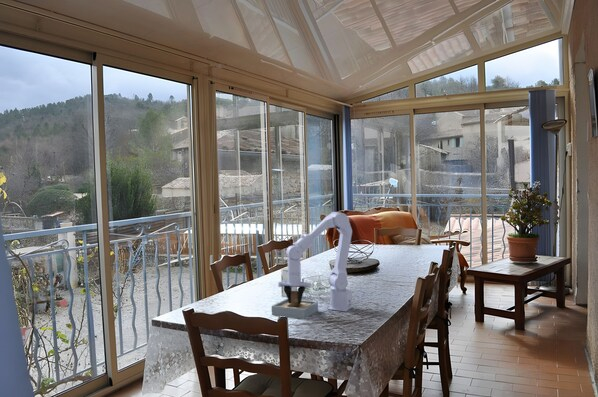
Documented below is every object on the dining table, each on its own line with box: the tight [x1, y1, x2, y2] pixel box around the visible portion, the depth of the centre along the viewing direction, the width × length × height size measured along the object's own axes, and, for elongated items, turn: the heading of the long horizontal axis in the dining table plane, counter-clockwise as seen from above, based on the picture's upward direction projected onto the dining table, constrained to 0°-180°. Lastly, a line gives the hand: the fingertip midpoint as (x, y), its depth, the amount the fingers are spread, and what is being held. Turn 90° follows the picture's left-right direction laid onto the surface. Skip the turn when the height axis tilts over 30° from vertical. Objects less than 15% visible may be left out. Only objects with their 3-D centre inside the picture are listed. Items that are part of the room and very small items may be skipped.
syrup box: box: [280, 266, 298, 298], centre depth 253 cm, size 6×6×14 cm
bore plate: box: [281, 302, 311, 309], centre depth 222 cm, size 11×11×3 cm
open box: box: [271, 298, 319, 320], centre depth 222 cm, size 16×14×4 cm
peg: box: [290, 290, 300, 308], centre depth 222 cm, size 4×4×8 cm
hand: (295, 303), depth 222 cm, fingers closed on peg, 4 cm apart
